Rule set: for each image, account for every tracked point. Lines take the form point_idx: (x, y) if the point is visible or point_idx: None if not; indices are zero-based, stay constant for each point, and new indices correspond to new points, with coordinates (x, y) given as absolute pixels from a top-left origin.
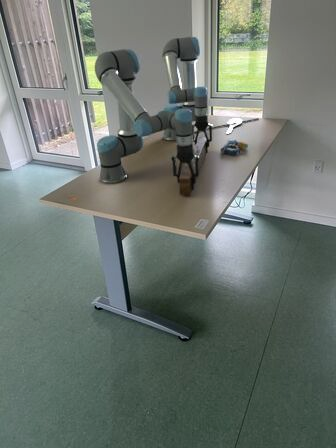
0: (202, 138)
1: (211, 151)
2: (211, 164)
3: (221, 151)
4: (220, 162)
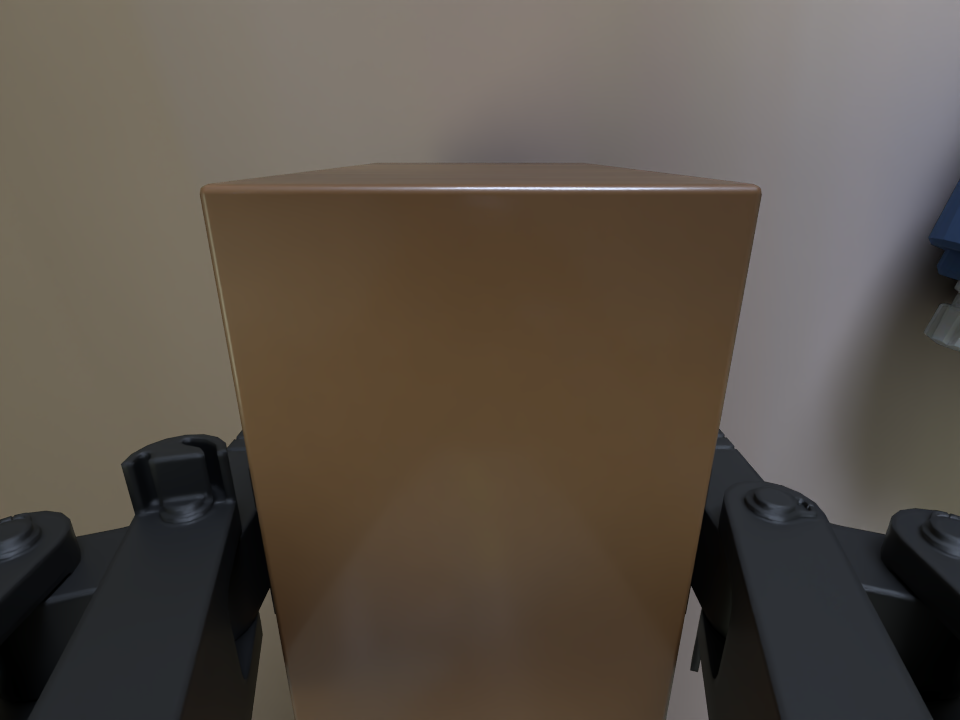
0: (478, 461)
1: (679, 96)
2: (672, 715)
3: (953, 347)
4: None
